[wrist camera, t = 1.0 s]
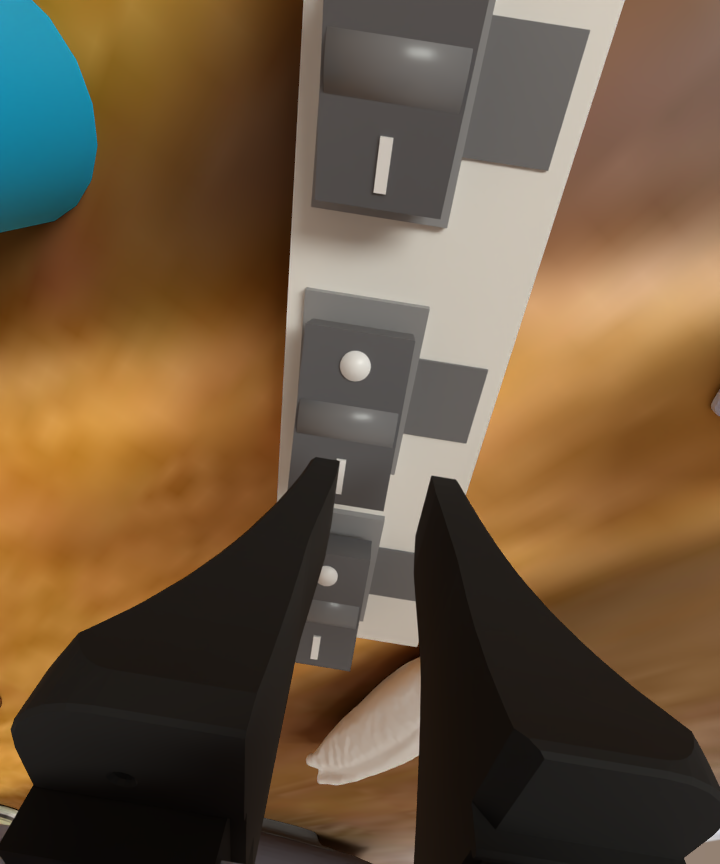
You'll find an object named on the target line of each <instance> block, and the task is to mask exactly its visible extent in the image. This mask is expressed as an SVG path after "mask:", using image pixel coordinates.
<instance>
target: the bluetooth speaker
mask: <svg viewBox="0 0 720 864" xmlns="http://www.w3.org/2000/svg"><path fill="white" fill-rule="evenodd" d="M255 864H372V863H370V862H368V861H365V860H362V859H360V858H358V857H355V856H352V855H349V854H346V853H343V852H340V851H336V850H334V849H332V848H329V847H325V846H322V845H321V844H320V842H319V840H318V838H317V835H316V833H315V832H313V831H310V830H307V829H304V828H301V827H298V826H294V825H290V824H287V823H283V822H279V821H275V820H270V819H266V818H264V819H263V824H262V829H261V834H260V840H259V845H258V850H257V855H256V860H255Z"/></svg>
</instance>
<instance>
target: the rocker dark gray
mask: <svg viewBox="0 0 720 864" xmlns="http://www.w3.org/2000/svg"><path fill="white" fill-rule="evenodd" d="M414 346H415V338H414V335H413V334H409V333H403V332H396V331H390V330H384V329H377V328H371V327H365V326H359V325H352V324H346V323H340V322H333V321H327V320H321V319H315V318H312V319H311V320H310V321H308V322H307V323H305V332H304V342H303V351H302V360H301V369H300V379H299V388H298V397H297V406H296V416H295V425H294V434H293V443H292V452H291V462H290V471H289V480H288V489H289V488H290V487H291V486H292V485H293V484H294V482H295V481H296V480H297V479H298V477H299V476H300V475H301V474H302V472H303V471H304V470H305V468H306V467H307V465H308V464H309V462H310V461H311V460H312V459H313V458H315V457H320V458H326V459H332V460H338V461H340V465H339V472H338V480H337V487H336V495H335V502H334V504H340V505H346V506H352V507H358V508H365V509H371V510H377V511H383V512H384V506H385V501H386V496H387V490H388V485H389V480H390V474H391V469H392V464H393V458H394V453H395V448H396V442H397V437H398V432H399V426H400V421H401V416H402V410H403V405H404V400H405V394H406V389H407V384H408V378H409V373H410V368H411V362H412V357H413V352H414ZM288 489H287V491H288Z"/></svg>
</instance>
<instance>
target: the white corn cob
mask: <svg viewBox="0 0 720 864" xmlns="http://www.w3.org/2000/svg"><path fill="white" fill-rule="evenodd" d="M420 690H421V671H420V657H419V658H416V659H414V660H412V661H410V662H408V663H406V664H404V665H403V666H401V667H400V668H399V669H397V670H396V671H395V672H393V673H392V674H390V675H389V676H388V677H387V678H386V679H384V680H383V681H382V682H381V683H380V684H379V685H378V686H376V687H375V688H374V689H373V690H372V691H371V692H370V693H369V694H368V695H367V696H366V697H365V698H364V699H363V700H362V701H361V702H360V703H359V704H358V705H357V706H356V707H354V708H353V709H352V711H350V712H349V713H348V714H347V715H346V716H345V717H343V719H342V720H341V721H340V722H339V723H338V724H337V725H336V726H335V727H334V728H333V730H332V731H331V732H330V733H329V734H328V735H327V737H326V738H325V739H324V740H323V742H322V743H321V745H320V746H319V747H318V749H317V750H316V751H315V753H312V754H309V755H308V756H307V758H306V763H307V764H308V765H309V766H311V767H314V768H317V769H318V770H319V773H318V776H317V782H318V783H319V784H332V785H341V784H346V783H350V782H356V781H359V780H361V779H364V778H366V777H369V776H373V775H376V774H379V773H381V772H384V771H387V770H389V769H391V768H395V767H397V766H399V765H402V764H404V763H406V762H408V761H409V760H412V759H414V758H415V757H417V756H418V755H419V734H420Z"/></svg>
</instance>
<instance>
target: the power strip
mask: <svg viewBox="0 0 720 864" xmlns="http://www.w3.org/2000/svg"><path fill="white" fill-rule="evenodd" d="M624 1H625V0H489V3H488V7H487V12H486V16H485V21H484V25H483V30H482V34H481V39H480V43H479V48H478V52H477V57H476V61H475V66H474V70H473V75H472V79H471V84H470V88H469V93H468V97H467V102H466V106H465V111H464V115H463V120H462V124H461V129H460V133H459V138H458V142H457V147H456V151H455V156H454V160H453V165H452V169H451V174H450V178H449V183H448V187H447V192H446V196H445V201H444V205H443V210H442V214H441V219H434V218H427V217H421V216H415V215H408V214H402V213H396V212H389V211H383V210H377V209H370V208H364V207H358V206H351V205H345V204H339V203H332V202H326V201H320V200H315V183H316V160H317V136H318V113H319V90H320V67H321V44H322V21H323V0H304V2H303V21H302V39H301V58H300V77H299V96H298V115H297V133H296V152H295V171H294V190H293V208H292V227H291V246H290V265H289V284H288V302H287V321H286V340H285V359H284V378H283V396H282V415H281V434H280V453H279V472H278V490H277V502H278V500H279V499H280V498H281V497H282V496H283V495H284V494H285V493H286V492H287V489H288V480H289V471H290V462H291V452H292V443H293V434H294V425H295V416H296V406H297V397H298V388H299V379H300V369H301V360H302V351H303V342H304V332H305V323H307V322H308V321H310V320H311V319H312V318H315V319H321V320H327V321H333V322H340V323H346V324H352V325H359V326H365V327H371V328H377V329H384V330H390V331H396V332H403V333H409V334H413V335H414V338H415V346H414V352H413V357H412V362H411V368H410V373H409V378H408V384H407V389H406V394H405V400H404V405H403V410H402V416H401V421H400V426H399V432H398V437H397V442H396V448H395V453H394V458H393V464H392V469H391V474H390V480H389V485H388V490H387V496H386V501H385V506H384V512H383V511H377V510H371V509H365V508H358V507H352V506H346V505H340V504H334V509H333V517H332V524H331V529H330V534H332V535H338V536H345V537H351V538H357V539H363V540H369V541H372V544H371V560H370V566H369V571H368V577H367V582H366V588H365V593H364V598H363V604H362V609H361V615H360V620H359V626H358V631H357V637H358V638H364V639H370V640H376V641H382V642H388V643H394V644H401V645H407V646H413V647H417V645H418V642H419V638H418V626H417V613H416V600H415V586H414V550H415V535H416V531H417V528H418V524H419V520H420V516H421V513H422V509H423V505H424V501H425V498H426V494H427V490H428V486H429V482H430V479H431V475H432V476H438V477H444V478H451V479H456V480H457V482H458V483H459V485H460V486H461V488H462V490H463V492H464V493H465V495H466V493H467V490H468V486H469V483H470V480H471V477H472V474H473V471H474V468H475V465H476V462H477V458H478V455H479V452H480V449H481V446H482V443H483V440H484V437H485V434H486V430H487V427H488V424H489V421H490V418H491V415H492V412H493V409H494V406H495V402H496V399H497V396H498V393H499V390H500V387H501V384H502V381H503V378H504V374H505V371H506V368H507V365H508V362H509V359H510V356H511V353H512V350H513V346H514V343H515V340H516V337H517V334H518V331H519V328H520V325H521V322H522V318H523V315H524V312H525V309H526V306H527V303H528V300H529V297H530V293H531V290H532V287H533V284H534V281H535V278H536V275H537V272H538V269H539V265H540V262H541V259H542V256H543V253H544V250H545V247H546V244H547V241H548V237H549V234H550V231H551V228H552V225H553V222H554V219H555V216H556V213H557V209H558V206H559V203H560V200H561V197H562V194H563V191H564V188H565V185H566V181H567V178H568V175H569V172H570V169H571V166H572V163H573V160H574V157H575V153H576V150H577V147H578V144H579V141H580V138H581V135H582V132H583V129H584V125H585V122H586V119H587V116H588V113H589V110H590V107H591V104H592V101H593V97H594V94H595V91H596V88H597V85H598V82H599V79H600V76H601V72H602V69H603V66H604V63H605V60H606V57H607V54H608V51H609V48H610V44H611V41H612V38H613V35H614V32H615V29H616V26H617V23H618V20H619V16H620V13H621V10H622V7H623V4H624Z"/></svg>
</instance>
